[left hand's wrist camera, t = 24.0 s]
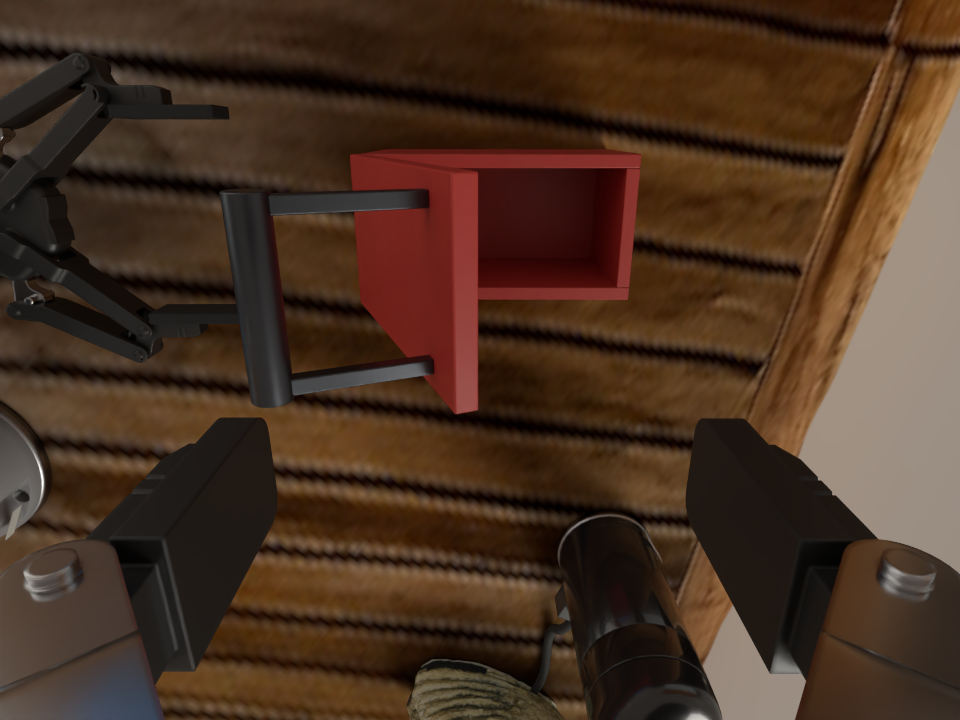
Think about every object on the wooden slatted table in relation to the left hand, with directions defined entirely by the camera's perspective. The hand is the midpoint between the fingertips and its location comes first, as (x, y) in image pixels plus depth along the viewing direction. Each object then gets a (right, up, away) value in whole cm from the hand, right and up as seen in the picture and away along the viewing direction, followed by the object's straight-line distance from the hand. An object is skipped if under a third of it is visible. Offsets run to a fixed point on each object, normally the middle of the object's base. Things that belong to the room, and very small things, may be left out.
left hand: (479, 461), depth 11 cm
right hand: (-17, +12, +30) cm, 36 cm away
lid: (-3, +7, +19) cm, 20 cm away
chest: (+1, +14, +37) cm, 39 cm away
